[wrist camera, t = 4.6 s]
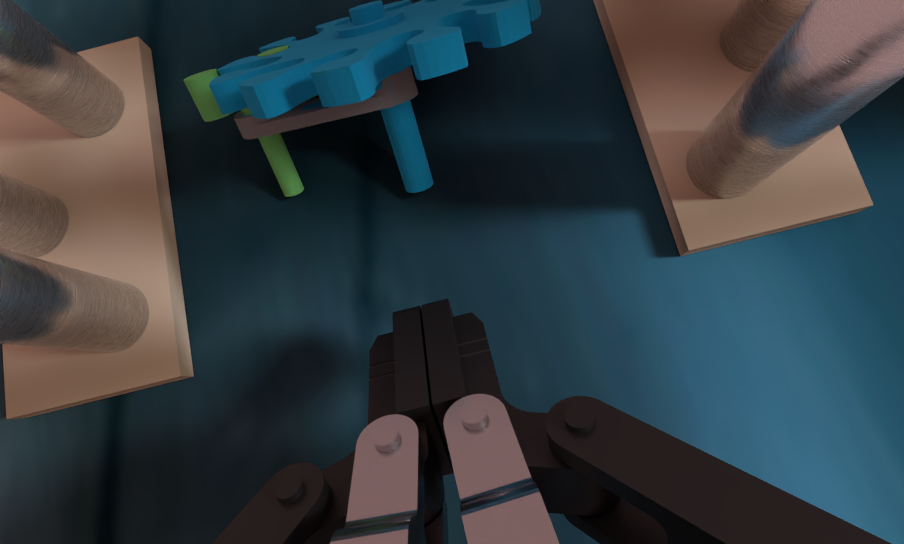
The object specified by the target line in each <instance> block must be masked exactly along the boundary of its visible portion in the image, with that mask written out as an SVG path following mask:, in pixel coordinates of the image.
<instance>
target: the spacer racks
mask: <svg viewBox="0 0 904 544" xmlns="http://www.w3.org/2000/svg"><path fill="white" fill-rule="evenodd" d="M593 1H594V4H595V7H596V10H597V13H598V16H599V19H600V22H601V25H602V27H603V30H604V33H605V36H606V39H607V42H608V45H609V48H610V51H611V54H612V57H613V60H614V63H615V66H616V69H617V72H618V74H619V77H620V80H621V83H622V86H623V89H624V92H625V95H626V98H627V101H628V104H629V107H630V110H631V113H632V116H633V119H634V121H635V124H636V127H637V130H638V133H639V136H640V139H641V142H642V145H643V148H644V151H645V154H646V157H647V160H648V163H649V166H650V168H651V171H652V174H653V177H654V180H655V183H656V186H657V189H658V192H659V195H660V198H661V201H662V204H663V207H664V210H665V213H666V215H667V218H668V221H669V224H670V227H671V230H672V233H673V236H674V239H675V242H676V245H677V248H678V251H679V254H680V256H684V255H688V254H692V253H696V252H700V251H704V250H708V249H712V248H716V247H720V246H724V245H728V244H732V243H736V242H740V241H744V240H748V239H752V238H756V237H760V236H764V235H769V234H773V233H777V232H781V231H785V230H789V229H793V228H797V227H801V226H805V225H809V224H813V223H817V222H821V221H825V220H829V219H833V218H837V217H841V216H845V215H850V214H854V213H857V212H859V211H862V210H864V209H866V208H868V207H870V206H872V205H873V202H872V200H871V198H870V195H869V193H868V191H867V188H866V186H865V184H864V181H863V179H862V177H861V174H860V172H859V170H858V168H857V165H856V163H855V161H854V158H853V156H852V154H851V151H850V149H849V147H848V144H847V142H846V140H845V137H844V135H843V133H842V130H841V128H840V126H839V125H838V126H837V127H836V128H834V129H833V130H832V131H830V132H829V133H828V134H826V135H825V136H824V137H822V138H821V139H820V140H818V141H817V142H815V143H814V144H813V145H811V146H810V147H809V148H807V149H806V150H805V151H803V152H802V153H801V154H799V155H798V156H797V157H795V158H794V159H793V160H791V161H790V162H789V163H787V164H786V165H785V166H783V167H782V168H781V169H779V170H778V171H777V172H775V173H774V174H773V175H771V176H770V177H769V178H767V179H766V180H764V181H763V182H762V183H760V184H759V185H758V186H756V187H755V188H754V189H752V190H751V191H750V192H748V193H747V194H745V195H743V196H741V197H738V198H734V199H719V198H715V197H712V196H709V195H707V194H705V193H704V192H702V191H701V190H700V189H698V188H697V187H696V186H695V185H694V183H693V182H692V180H691V179H690V177H689V175H688V172H687V167H686V159H687V154H688V151H689V149H690V147H691V146H692V144H693V143H694V142H695V141H696V139H697V138H698V137H699V136H700V135H701V133H702V132H703V131H704V130H705V129H706V127H707V126H708V125H709V124H710V123H711V121H712V120H713V119H714V118H715V117H716V115H717V114H718V113H719V112H720V111H721V110H722V108H723V107H724V106H725V105H726V104H727V102H728V101H729V100H730V99H731V98H732V96H733V95H734V94H735V93H736V92H737V90H738V89H739V88H740V87H741V86H742V84H743V83H744V82H745V81H746V80H747V78H748V77H749V76H750V75H751V74H752V72H747V71H744V70H741V69H739V68H737V67H735V66H734V65H733V64H731V63H730V62H729V61H728V60H727V59H726V57H725V56H724V54H723V52H722V50H721V47H720V33H721V30H722V28H723V26H724V25H725V23H726V21H727V20H728V18H729V17H730V15H731V14H732V12H733V11H734V9H735V8H736V6H737V4H738V3H739V1H740V0H593ZM77 53H78V54H79V55H80V56H81V57H83V58H84V59H85V60H86V61H88V62H89V63H90V64H91V65H93V66H94V67H95V68H96V69H98V70H99V71H100V72H101V73H103V74H104V75H105V76H106V77H108V78H109V79H110V80H112V81H113V82H114V83H115V84H116V85H118V86H119V88H120V89H121V91H122V92H123V95H124V100H125V106H124V111H123V114H122V116H121V118H120V120H119V122H118V123H117V124H116V125H115V126H114V127H113V128H112V129H111V130H110V131H108V132H107V133H105V134H103V135H101V136H98V137H94V138H83V137H79V136H76V135H74V134H73V133H71V132H69V131H67V130H66V129H64V128H62V127H61V126H59V125H57V124H56V123H54V122H52V121H51V120H49V119H47V118H46V117H44V116H42V115H41V114H39V113H37V112H36V111H34V110H32V109H31V108H29V107H27V106H25V105H24V104H22V103H20V102H19V101H17V100H15V99H14V98H12V97H10V96H9V95H7V94H5V93H4V92H2V91H0V172H1V173H3V174H6V175H8V176H10V177H13V178H15V179H17V180H20V181H22V182H24V183H27V184H29V185H31V186H33V187H36V188H38V189H40V190H43V191H45V192H47V193H50V194H52V195H54V196H56V197H58V198H59V199H60V200H61V201H62V202H63V203H64V204H65V206H66V208H67V211H68V215H69V223H68V229H67V232H66V234H65V236H64V238H63V239H62V241H61V242H60V244H59V245H58V246H57V247H56V248H55V249H53V250H52V251H51V252H49V253H47V254H45V255H43V256H40V257H35V258H38V259H41V260H45V261H49V262H52V263H56V264H60V265H63V266H67V267H71V268H74V269H78V270H81V271H85V272H89V273H92V274H96V275H100V276H103V277H107V278H111V279H114V280H118V281H121V282H125V283H129V284H131V285H133V286H135V287H137V288H138V289H139V290H140V291H141V292H142V293H143V294H144V296H145V298H146V300H147V303H148V307H149V319H148V323H147V326H146V328H145V331H144V332H143V334H142V336H141V337H140V338H139V339H138V340H137V341H136V342H135V343H134V344H133V345H132V346H130V347H129V348H127V349H125V350H122V351H119V352H114V353H106V352H93V351H81V350H68V349H56V348H43V347H31V346H18V345H6V344H2V347H3V365H4V383H5V401H6V419H16V418H28V417H32V416H36V415H40V414H44V413H48V412H52V411H56V410H60V409H64V408H68V407H72V406H76V405H80V404H84V403H88V402H92V401H97V400H101V399H105V398H109V397H113V396H117V395H121V394H125V393H129V392H133V391H137V390H141V389H145V388H149V387H153V386H157V385H161V384H165V383H169V382H173V381H178V380H182V379H186V378H190V377H194V374H193V366H192V358H191V351H190V343H189V336H188V328H187V320H186V313H185V305H184V297H183V290H182V282H181V274H180V267H179V259H178V252H177V244H176V236H175V229H174V221H173V213H172V206H171V198H170V190H169V183H168V175H167V168H166V160H165V152H164V145H163V137H162V129H161V122H160V114H159V106H158V99H157V91H156V84H155V76H154V68H153V61H152V53H151V49H150V48H149V47H148V46H147V45H146V44H145V43H144V42H143V41H142V40H141V39H140V38H139V37H134V38H130V39H126V40H123V41H119V42H115V43H111V44H107V45H104V46H100V47H96V48H92V49H88V50H84V51H81V52H77Z"/></svg>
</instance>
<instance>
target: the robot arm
mask: <svg viewBox="0 0 904 544" xmlns="http://www.w3.org/2000/svg"><path fill="white" fill-rule="evenodd" d="M369 366H370V369H369V379H370V381H369V406H368V426H367V427H366V428H365V429H364V430H363V431H362V433H361V434H360V436H359V438H358V440H357V444H356V449H355V450H354V451H353V452H352V453H351V454H350V455H348V456H347V457H346V458H344V459H342V460H341V461H339V462H337V463H335V464H333V465H331V466H330V467H328V468H326V469H324V470H322V471H321V470H320V469H319V468H318V467H317V466H316V465H314V464H312V463H307V462H299V463H294V464H291V465H289V466H287V467H284V468H283V469H281V470H279V471H278V472H277V473H275V474H274V475H273V476H272V477H271V478H270V479H269V480H268V481H267V482H266V483H265V485H264V486H263V487H262V488H261V489H260V490H259V491H258V492H257V494H256V495H255V496H254V497H253V498H252V499H251V500H250V501H249V503H248V504H247V505H246V506H245V507H244V508H243V509H242V510H241V511H240V513H239V514H238V515H237V516H236V517H235V518H234V519H233V520H232V522H231V523H230V524H229V525H228V526H227V527H226V528H225V529H224V531H223V532H222V533H221V534H220V535H219V536H218V537H217V538H216V540H215V541H214V542H213V543H212V544H448V518H447V504H446V501H445V498H444V497H445V495H444V484H443V476H444V475H448V474H452V473H453V470H454V474H455V478H456V483H457V487H458V491H459V496H460V500H461V505H460V510H461V515H462V520H463V524H464V529H465V533H466V538H467V542H468V544H559V541H558V539H557V536H556V533H555V531H554V528H553V526H552V523H551V520H550V518H549V515H548V513H558V514H564V516H565V517H566V519H567V520H568V521H569V522H570V523H571V524H573V525H574V526H575V527H577V528H578V529H580V530H581V531H583V532H584V533H585V534H587V535H588V536H590V537H591V538H593V539H594V540H595V541H597V542H598V543H600V544H891V543H889V542H887V541H885V540H883V539H881V538H879V537H877V536H875V535H872V534H870V533H868V532H866V531H864V530H862V529H860V528H858V527H856V526H854V525H852V524H850V523H848V522H846V521H844V520H842V519H840V518H838V517H836V516H834V515H832V514H830V513H828V512H826V511H824V510H822V509H820V508H818V507H815V506H813V505H811V504H809V503H807V502H805V501H803V500H801V499H799V498H797V497H795V496H793V495H791V494H789V493H787V492H785V491H783V490H781V489H779V488H777V487H775V486H773V485H771V484H769V483H767V482H765V481H763V480H761V479H758V478H756V477H754V476H752V475H750V474H748V473H746V472H744V471H742V470H740V469H738V468H736V467H734V466H732V465H730V464H728V463H726V462H724V461H722V460H720V459H718V458H716V457H714V456H712V455H710V454H708V453H706V452H704V451H701V450H699V449H697V448H695V447H693V446H691V445H689V444H687V443H685V442H683V441H681V440H679V439H677V438H675V437H673V436H671V435H669V434H667V433H665V432H663V431H661V430H659V429H657V428H655V427H653V426H651V425H649V424H647V423H644V422H642V421H640V420H638V419H636V418H634V417H632V416H630V415H628V414H626V413H624V412H622V411H620V410H618V409H616V408H614V407H612V406H610V405H608V404H606V403H604V402H602V401H600V400H597V399H595V398H591V397H586V396H575V397H569V398H566V399H564V400H561V401H560V402H558V403H556V404H555V405H554V406H553V407H552V408H551V409H550V411H549V412H548V413H532V412H526V411H522V410H519V409H517V408H515V407H513V406H511V405H510V404H509V403H508V402H507V401H506V400H505V399H504V397H503V396H502V393H501V390H500V386H499V382H498V378H497V375H496V371H495V367H494V363H493V359H492V356H491V352H490V348H489V344H488V341H487V337H486V333H485V329H484V325H483V322H482V321H480V320H479V319H478V318H477V317H476V316H475V315H474V314H473V313H472V312H471V313H467V314H463V315H459V316H455V317H453V313H452V310H451V306H450V303H449V300H448V299H445V300H441V301H437V302H433V303H429V304H425V305H422V310H421V307H420V306H417V307H413V308H409V309H405V310H401V311H397V312H393V332H391V333H387V334H383V335H379V336H377V338H376V340H375V342H374V344H373V346H372V348H371V349H370V362H369ZM452 465H453V468H452Z"/></svg>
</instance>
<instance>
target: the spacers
mask: <svg viewBox="0 0 904 544" xmlns="http://www.w3.org/2000/svg"><path fill="white" fill-rule="evenodd" d="M720 47H721V50H722V52H723V54H724V56H725V57H726V59H727V60H728V61H729V62H730V63H731V64H733V65H734V66H735V67H737V68H739V69H741V70H744V71H747V72H752V74H751V75H750V76H749V77H748V78H747V80H746V81H745V82H744V83H743V84H742V86H741V87H740V88H739V89H738V90H737V92H736V93H735V94H734V95H733V96H732V98H731V99H730V100H729V101H728V102H727V104H726V105H725V106H724V107H723V108H722V110H721V111H720V112H719V113H718V114H717V115H716V117H715V118H714V119H713V120H712V121H711V123H710V124H709V125H708V126H707V127H706V129H705V130H704V131H703V132H702V133H701V135H700V136H699V137H698V138H697V139H696V141H695V142H694V143H693V144H692V146H691V147H690V149H689V151H688V154H687V159H686V167H687V172H688V175H689V177H690V179H691V180H692V182H693V183H694V185H695V186H696V187H697V188H698V189H700V190H701V191H702V192H704V193H705V194H707V195H709V196H712V197H715V198H719V199H734V198H738V197H741V196H743V195H745V194H747V193H748V192H750V191H751V190H752V189H754V188H755V187H756V186H758V185H759V184H760V183H762V182H763V181H764V180H766V179H767V178H769V177H770V176H771V175H773V174H774V173H775V172H777V171H778V170H779V169H781V168H782V167H783V166H785V165H786V164H787V163H789V162H790V161H791V160H793V159H794V158H795V157H797V156H798V155H799V154H801V153H802V152H803V151H805V150H806V149H807V148H809V147H810V146H811V145H813V144H814V143H815V142H817V141H818V140H820V139H821V138H822V137H824V136H825V135H826V134H828V133H829V132H830V131H832V130H833V129H834V128H836V127H837V126H838V125H840V124H841V123H842V122H844V121H845V120H846V119H848V118H849V117H850V116H852V115H853V114H854V113H856V112H857V111H858V110H860V109H861V108H862V107H864V106H865V105H866V104H868V103H869V102H871V101H872V100H873V99H875V98H876V97H877V96H879V95H880V94H881V93H883V92H884V91H885V90H887V89H888V88H889V87H891V86H892V85H893V84H895V83H896V82H897V81H899V80H900V79H901V78H903V77H904V0H740V1H739V3H738V4H737V6H736V8H735V9H734V11H733V12H732V14H731V15H730V17H729V18H728V20H727V21H726V23H725V25H724V26H723V28H722V30H721V33H720ZM0 91H2V92H4V93H5V94H7V95H9V96H10V97H12V98H14V99H15V100H17V101H19V102H20V103H22V104H24V105H25V106H27V107H29V108H31V109H32V110H34V111H36V112H37V113H39V114H41V115H42V116H44V117H46V118H47V119H49V120H51V121H52V122H54V123H56V124H57V125H59V126H61V127H62V128H64V129H66V130H67V131H69V132H71V133H73V134H74V135H76V136H79V137H83V138H94V137H98V136H101V135H103V134H105V133H107V132H108V131H110V130H111V129H112V128H113V127H114V126H115V125H116V124H117V123H118V122H119V120H120V118H121V116H122V114H123V111H124V106H125V100H124V95H123V92H122V91H121V89H120V88H119V86H118V85H116V84H115V83H114V82H113V81H112V80H110V79H109V78H108V77H106V76H105V75H104V74H103V73H101V72H100V71H99V70H98V69H96V68H95V67H94V66H93V65H91V64H90V63H89V62H88V61H86V60H85V59H84V58H83V57H81V56H80V55H79V54H78V53H76V52H75V51H74V50H73V49H71V48H70V47H69V46H68V45H66V44H65V43H64V42H62V41H61V40H60V39H59V38H57V37H56V36H55V35H54V34H52V33H51V32H50V31H49V30H47V29H46V28H45V27H44V26H42V25H41V24H40V23H39V22H37V21H36V20H35V19H34V18H32V17H31V16H30V15H29V14H27V13H26V12H25V11H24V10H22V9H21V8H20V7H19V6H17V5H16V4H15V3H13V2H12V1H11V0H0ZM68 223H69V215H68V211H67V208H66V206H65V204H64V203H63V202H62V201H61V200H60V199H59V198H58V197H56V196H54V195H52V194H50V193H47V192H45V191H43V190H40V189H38V188H36V187H33V186H31V185H29V184H27V183H24V182H22V181H20V180H17V179H15V178H13V177H10V176H8V175H6V174H3V173H1V172H0V344H6V345H18V346H31V347H43V348H56V349H68V350H81V351H93V352H106V353H114V352H119V351H122V350H125V349H127V348H129V347H130V346H132V345H133V344H134V343H135V342H136V341H137V340H138V339H139V338H140V337H141V336H142V334H143V332H144V331H145V328H146V326H147V323H148V319H149V307H148V303H147V300H146V298H145V296H144V294H143V293H142V292H141V291H140V290H139V289H138V288H137V287H135V286H133V285H131V284H129V283H125V282H121V281H118V280H114V279H111V278H107V277H103V276H100V275H96V274H92V273H89V272H85V271H81V270H78V269H74V268H71V267H67V266H63V265H60V264H56V263H52V262H49V261H45V260H41V259H38V258H35V257H40V256H43V255H45V254H47V253H49V252H51V251H52V250H53V249H55V248H56V247H57V246H58V245H59V244H60V242H61V241H62V239H63V238H64V236H65V234H66V232H67V229H68Z"/></svg>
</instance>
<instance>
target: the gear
mask: <svg viewBox="0 0 904 544" xmlns="http://www.w3.org/2000/svg"><path fill="white" fill-rule="evenodd" d="M348 11H349V14H350V17H351V20H352V22H351V20H350V17H345V18H341V19H337V20H334V21H331V22H327V23H324V24H321V25H318V26H316V30H317V33H318V34H317V35H314V36H312V37H309V38H306V39H302V40H298V41H297V40H296V37H289V38H285V39H282V40H279V41H276V42H273V43H271V44H268V45H265V46H263V47H260V48H259V50H260V52H261V53H260V54H258V55H257V56H250V57H245V58H242V59H239V60H236V61H234V62H231V63H229V64H227V65H225V66H223V67H221V68H219V69H211V70H207V71H203V72H200V73H197V74H194V75H192V76H189V77H187V78H185V79H184V80H183V81H184V83H185V84H186V86H187V88H188V90H189V92H190V94H191V96H192V98H193V100H194V102H195V104H196V106H197V108H198V110H199V112H200V114H201V116H202V118H203V120H204V121H205V122H209V121H214V120H217V119H220V118H223V117H226V116H228V115H230V114H232V113H233V112H236V111H239V110H241V111H240V112H238V113H237V114H236V115H235V116H234V120H235V122H236V124H237V126H238V128H239V130H240V133H241V135H242V137H243V138H244V139H256V138H258V139H259V141H260V143H261V145H262V147H263V150H264V152H265V154H266V156H267V158H268V161H269V163H270V165H271V167H272V169H273V171H274V174H275V176H276V178H277V180H278V182H279V185H280V187H281V189H282V191H283V193H284V196H286V197H291V196H295V195H297V194H299V193H301V192H302V191H303V190H304V187H303V185H302V182H301V180H300V178H299V175H298V173H297V171H296V168H295V166H294V164H293V161H292V159H291V157H290V154H289V152H288V150H287V147H286V145H285V143H284V141H283V138H282V136H281V134H280V133H282V132H286V131H290V130H295V129H299V128H303V127H308V126H312V125H316V124H321V123H325V122H329V121H334V120H338V119H342V118H346V117H351V116H355V115H359V114H364V113H368V112H372V111H377V110H380V111H381V114H382V117H383V120H384V124H385V127H386V130H387V133H388V136H389V139H390V142H391V146H392V149H393V152H394V155H395V158H396V161H397V164H398V168H399V171H400V174H401V177H402V180H403V183H404V186H405V190H406V191H407V192H409V193H417V192H421V191H424V190H426V189H428V188H430V187H431V186H432V185H433V179H432V175H431V171H430V168H429V164H428V161H427V157H426V154H425V150H424V147H423V143H422V140H421V136H420V133H419V129H418V126H417V122H416V119H415V115H414V112H413V108H412V105H411V101H410V100H411V99H413V98H414V97H416V96H417V94H418V91H417V87H416V84H415V80H414V76H413V73H412V69H411V65H412V66H413V69H414V73H415V77H416V79H417V80H426V79H430V78H434V77H438V76H441V75H444V74H448V73H451V72H454V71H457V70H460V69H463V68H466V67H467V66H468V60H467V55H466V51H465V46H464V44H465V43H469V42H476V41H480V42H482V45H483V47H485V48H497V47H502V46H505V45H508V44H510V43H513V42H515V41H517V40H519V39H522V38H524V37H525V36H527V35H529V34H531V33H532V31H531V25H530V22H532V21H534V20H536V19H537V18H538V17H539V16H540V15H541V12H542V11H541V4H540V0H421V1H419V2H416V3H413V4H411V0H402V1H398V2H394V3H390V4H386V5H383V3H382V0H378V1H373V2H369V3H365V4H362V5H359V6H356V7H353V8H351V9H349V10H348ZM217 71H218V72H217ZM218 73H219V74H218ZM219 75H220V76H219ZM317 95H319V97H320V98H316V99H312V100H308V99H310V98H312V97H314V96H317ZM306 100H308V101H306Z"/></svg>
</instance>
